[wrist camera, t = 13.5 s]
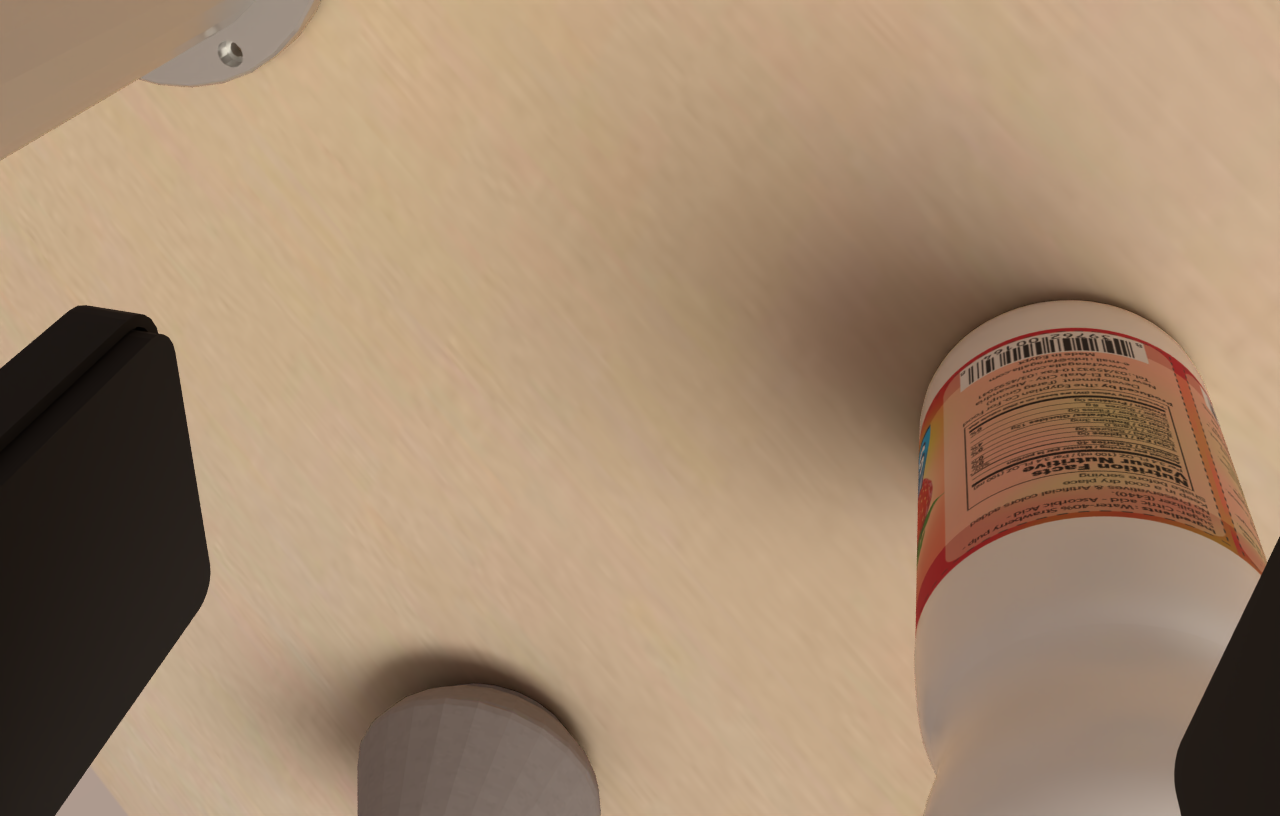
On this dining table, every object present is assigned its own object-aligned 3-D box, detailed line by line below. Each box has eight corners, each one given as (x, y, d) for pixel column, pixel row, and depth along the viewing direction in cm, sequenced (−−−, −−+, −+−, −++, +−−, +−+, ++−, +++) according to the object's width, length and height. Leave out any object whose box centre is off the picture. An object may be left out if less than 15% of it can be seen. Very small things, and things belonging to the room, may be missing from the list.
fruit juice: (1267, 416, 41) (1695, 1457, 18) (1043, 560, 46) (1153, 1517, 23) (1075, 235, 39) (1279, 1150, 16) (863, 407, 44) (784, 1290, 21)
